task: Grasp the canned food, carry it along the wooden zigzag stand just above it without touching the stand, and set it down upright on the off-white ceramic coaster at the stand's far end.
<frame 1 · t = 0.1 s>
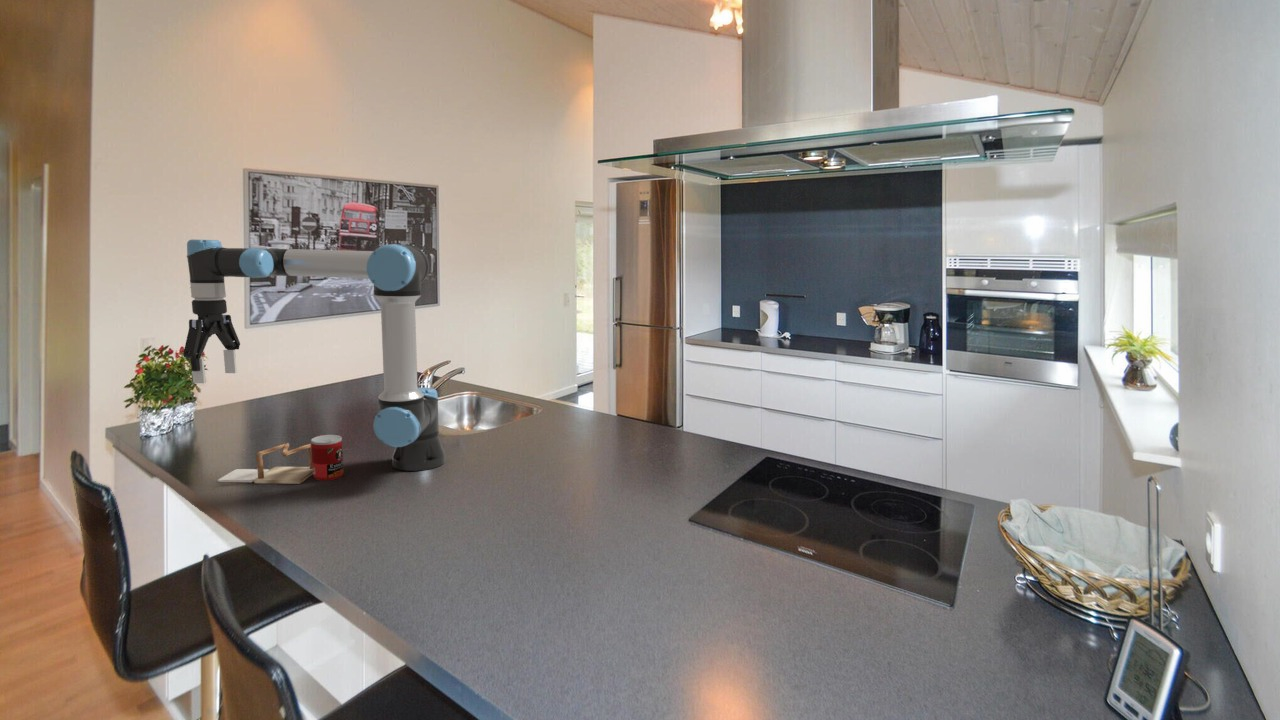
hand: (215, 377, 168), 28 cm above the countertop, fingers open, 13 cm apart
wooden zigzag stand: (287, 476, 174), on the countertop
coaster: (244, 476, 173), on the countertop
canned food: (328, 476, 175), on the countertop
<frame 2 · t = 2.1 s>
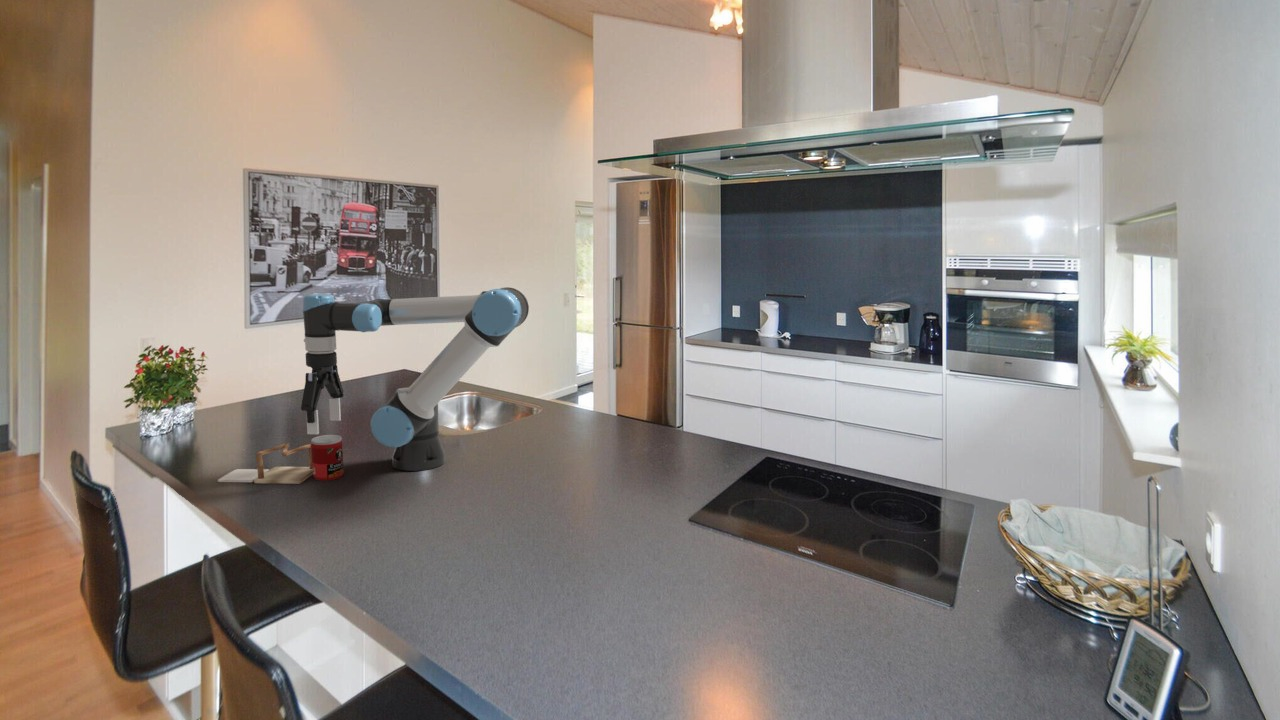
hand: (324, 427, 173), 14 cm above the countertop, fingers open, 13 cm apart
nothing on the countertop moved.
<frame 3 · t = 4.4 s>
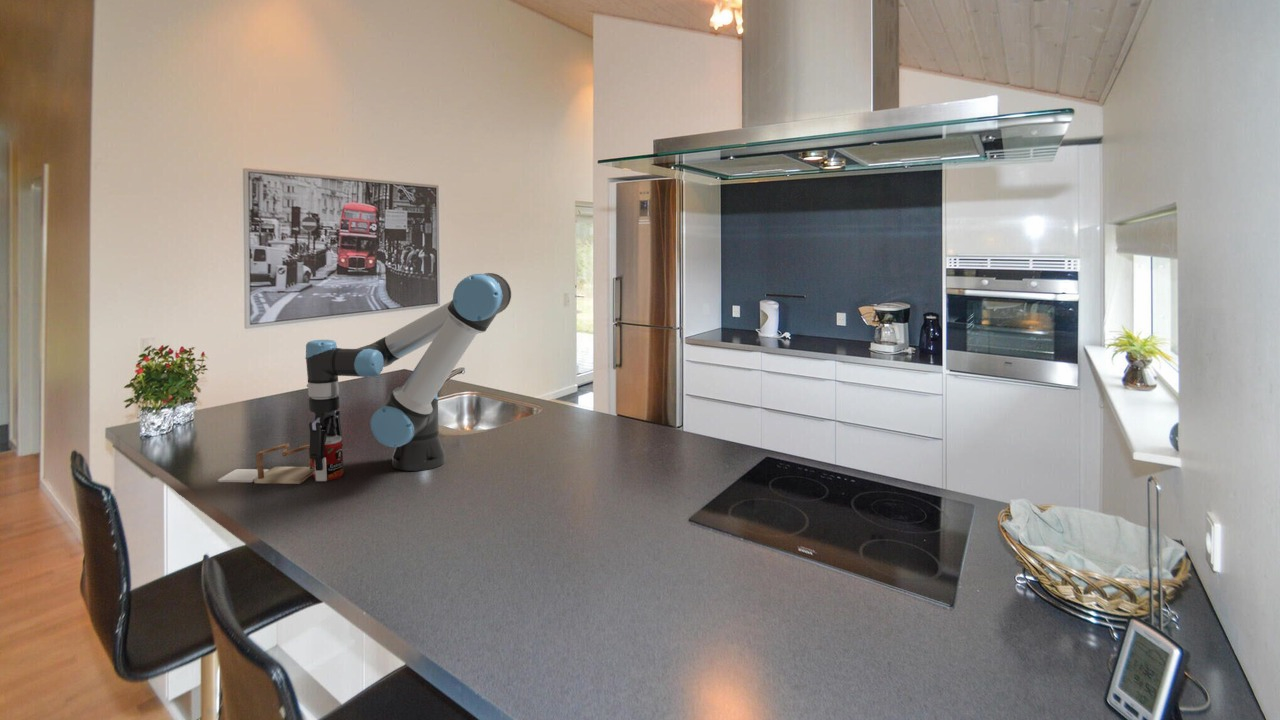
hand: (328, 475, 175), 0 cm above the countertop, fingers closed on canned food, 8 cm apart
canned food: (328, 476, 175), on the countertop, touching gripper
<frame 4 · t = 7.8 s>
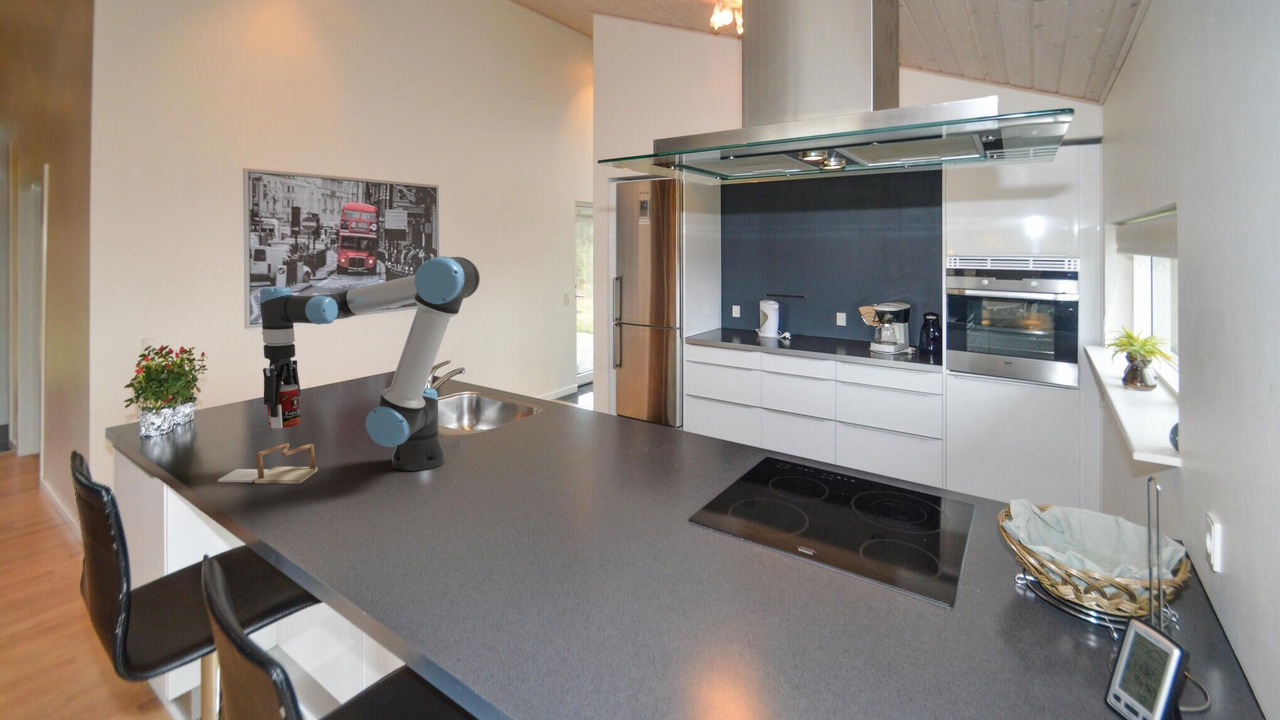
hand: (284, 423, 175), 14 cm above the countertop, fingers closed on canned food, 8 cm apart
canned food: (284, 425, 175), point 14 cm above the countertop, touching gripper
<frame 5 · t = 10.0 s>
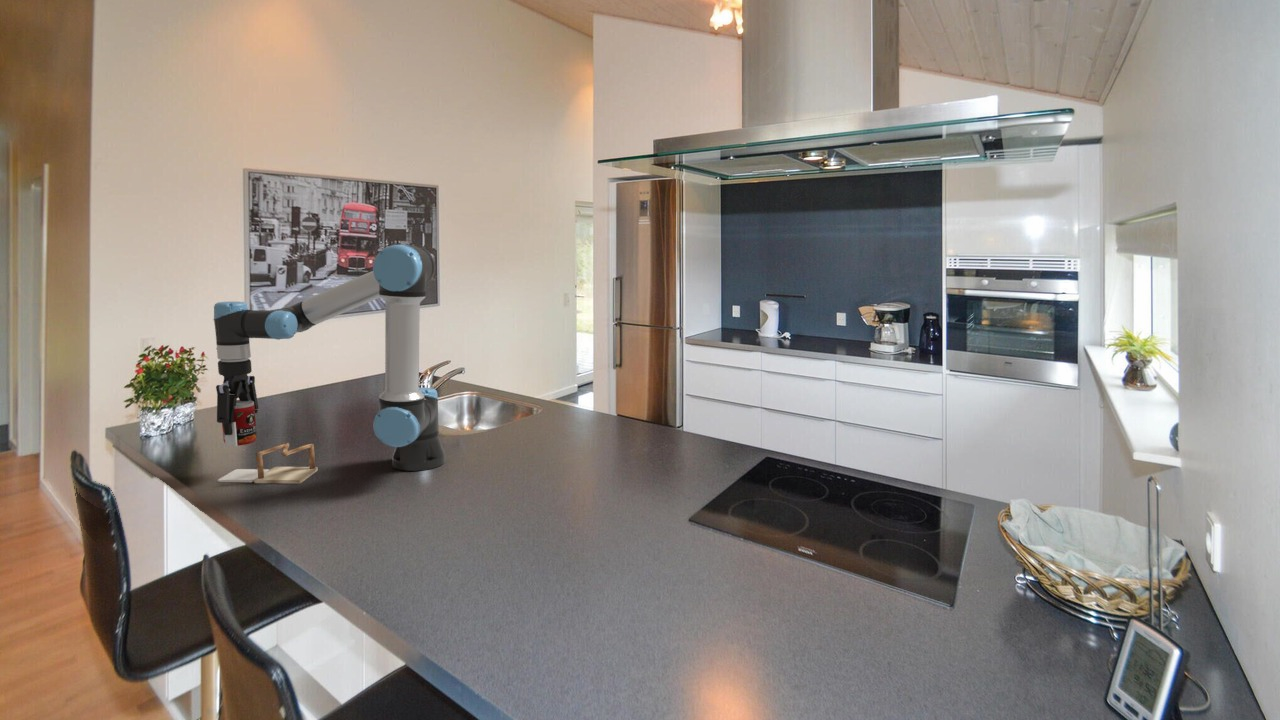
hand: (240, 440, 171), 10 cm above the countertop, fingers closed on canned food, 8 cm apart
canned food: (240, 442, 171), point 10 cm above the countertop, touching gripper
when the fingers open (3 cm above the countertop, at t = 11.7 s): canned food drops 2 cm, resting on coaster.
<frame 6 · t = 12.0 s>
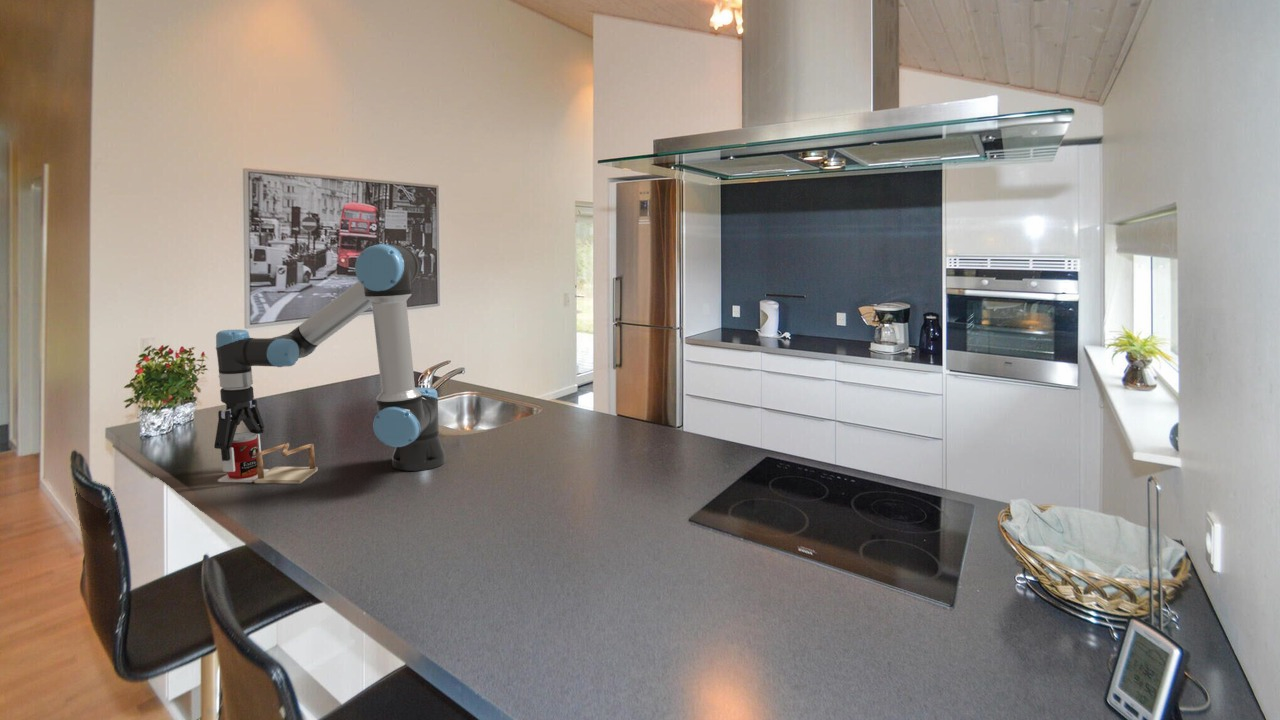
hand: (243, 463, 172), 4 cm above the countertop, fingers open, 12 cm apart
canned food: (244, 475, 173), resting on coaster
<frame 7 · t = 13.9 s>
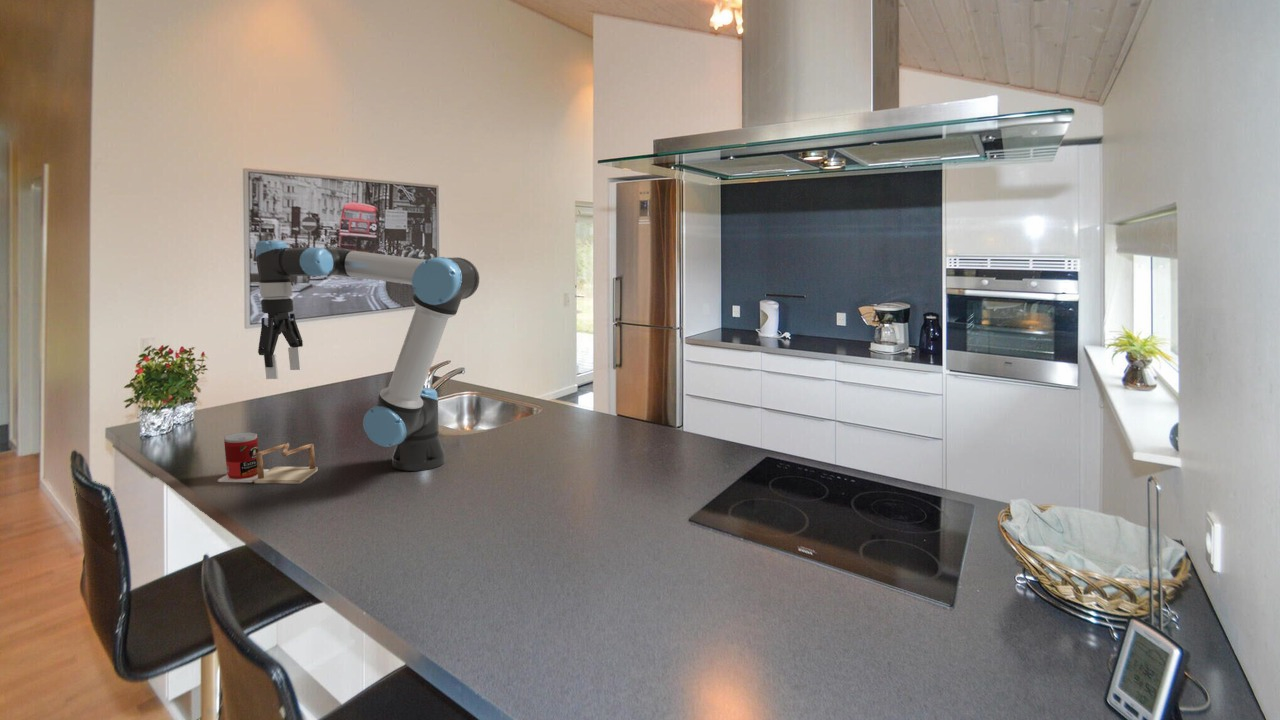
hand: (284, 374, 174), 28 cm above the countertop, fingers open, 13 cm apart
nothing on the countertop moved.
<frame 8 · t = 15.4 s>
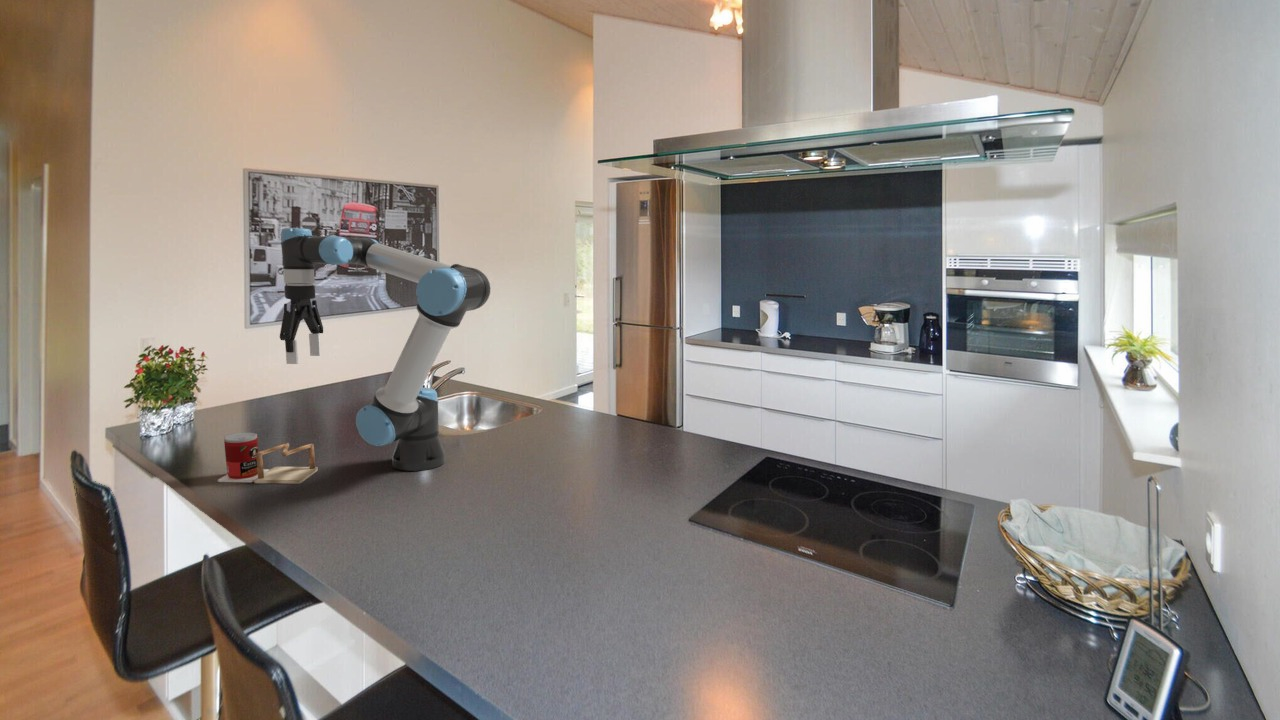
hand: (304, 359, 177), 32 cm above the countertop, fingers open, 13 cm apart
nothing on the countertop moved.
at the end: canned food inside the target area on the coaster (0.0 cm from its centre), point 0.4 cm above the coaster's base; canned food tilted 0°; canned food touching coaster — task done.
